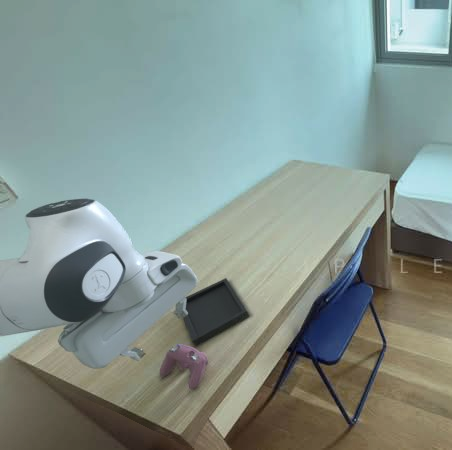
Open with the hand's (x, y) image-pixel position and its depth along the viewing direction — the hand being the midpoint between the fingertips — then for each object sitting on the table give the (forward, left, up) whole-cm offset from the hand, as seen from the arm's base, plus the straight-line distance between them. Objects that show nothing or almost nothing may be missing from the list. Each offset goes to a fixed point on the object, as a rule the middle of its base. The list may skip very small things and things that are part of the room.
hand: (162, 335), depth 60 cm
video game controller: (0, 0, -13) cm, 13 cm away
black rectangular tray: (+9, +14, -13) cm, 21 cm away
